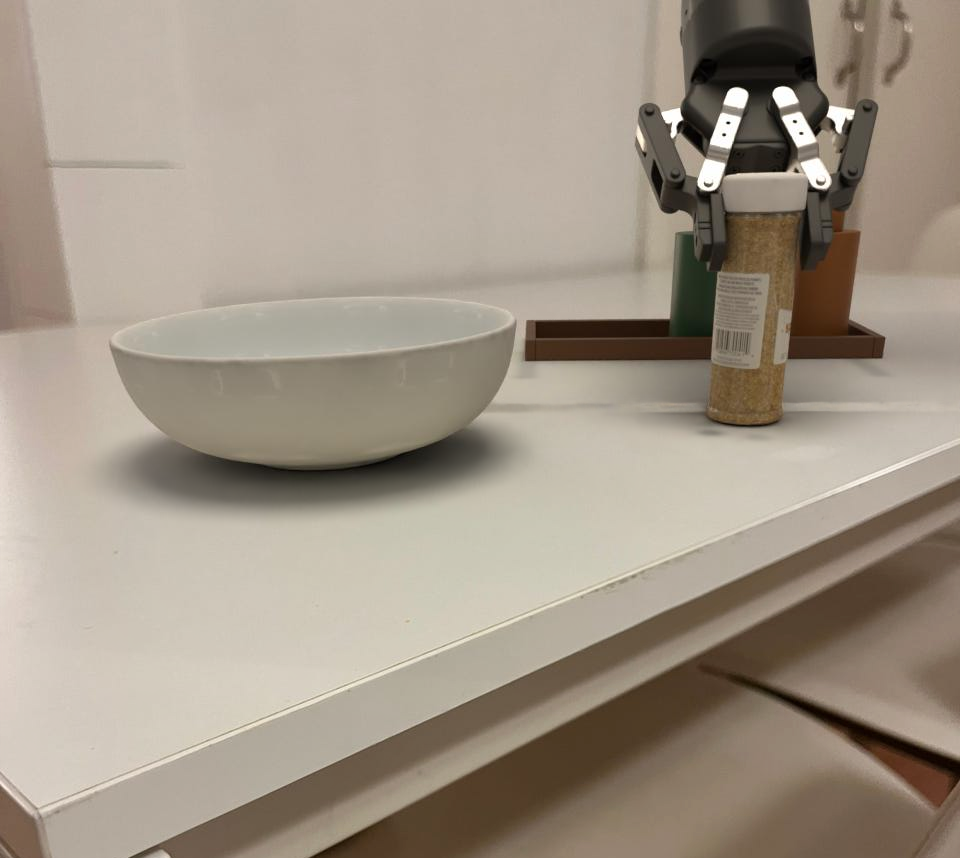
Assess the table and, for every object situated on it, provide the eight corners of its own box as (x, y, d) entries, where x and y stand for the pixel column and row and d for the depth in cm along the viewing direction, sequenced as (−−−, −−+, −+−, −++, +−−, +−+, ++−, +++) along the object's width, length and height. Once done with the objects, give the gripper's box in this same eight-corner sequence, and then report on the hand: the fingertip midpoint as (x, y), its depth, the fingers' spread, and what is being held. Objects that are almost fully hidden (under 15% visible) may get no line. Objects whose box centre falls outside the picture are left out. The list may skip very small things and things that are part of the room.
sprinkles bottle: (798, 421, 60) (827, 171, 54) (735, 430, 58) (759, 173, 52) (749, 406, 64) (771, 171, 58) (689, 414, 62) (706, 173, 56)
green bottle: (724, 342, 82) (737, 181, 77) (734, 352, 78) (749, 182, 73) (664, 342, 83) (674, 182, 78) (672, 352, 78) (682, 183, 73)
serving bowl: (230, 403, 67) (217, 294, 64) (542, 412, 63) (543, 296, 60) (48, 496, 49) (17, 349, 46) (472, 517, 45) (469, 358, 42)
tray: (842, 342, 85) (846, 316, 84) (881, 366, 75) (886, 336, 74) (526, 345, 86) (526, 319, 85) (524, 368, 77) (525, 339, 76)
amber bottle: (835, 341, 82) (857, 179, 77) (852, 351, 78) (876, 180, 72) (776, 341, 82) (793, 180, 77) (789, 351, 78) (808, 181, 73)
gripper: (632, -26, 58) (640, 213, 52) (886, -32, 57) (923, 209, 51) (620, 86, 65) (627, 307, 59) (847, 81, 64) (876, 304, 58)
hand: (765, 260), depth 55 cm, fingers closed on sprinkles bottle, 4 cm apart
